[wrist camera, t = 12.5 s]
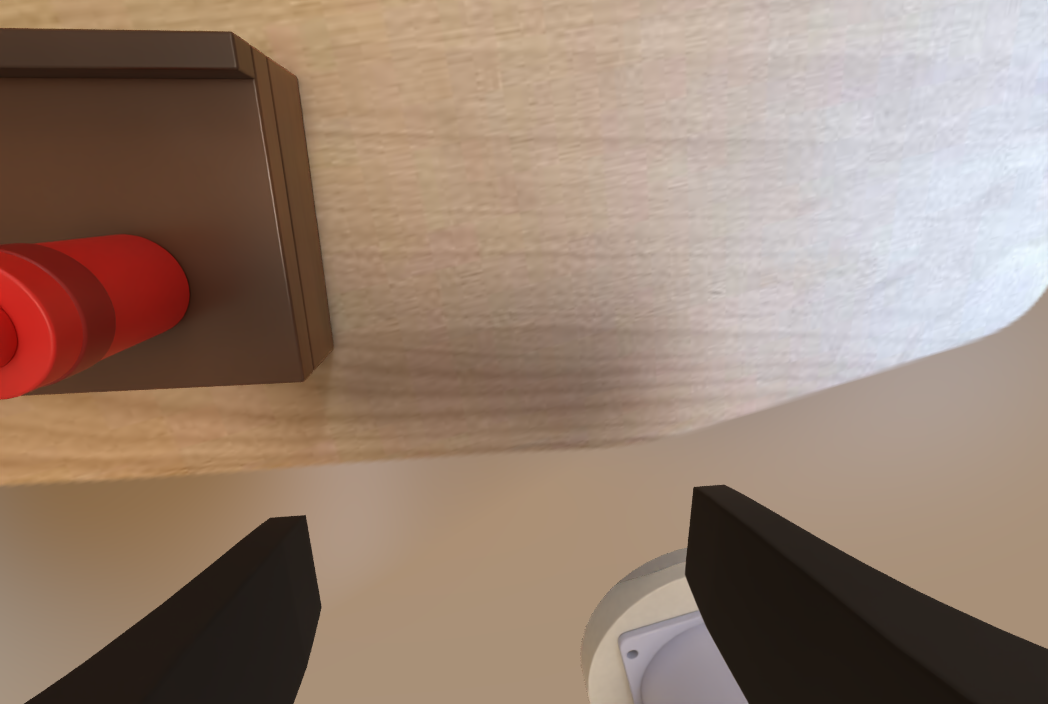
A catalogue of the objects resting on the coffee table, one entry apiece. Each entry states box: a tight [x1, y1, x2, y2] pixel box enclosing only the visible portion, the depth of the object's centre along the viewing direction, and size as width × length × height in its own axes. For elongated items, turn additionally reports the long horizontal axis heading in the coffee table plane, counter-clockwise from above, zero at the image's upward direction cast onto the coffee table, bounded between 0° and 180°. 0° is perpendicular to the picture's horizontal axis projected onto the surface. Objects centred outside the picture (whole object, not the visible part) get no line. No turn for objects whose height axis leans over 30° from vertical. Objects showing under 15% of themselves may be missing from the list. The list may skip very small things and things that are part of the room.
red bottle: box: [0, 234, 190, 400], centre depth 11 cm, size 3×3×6 cm
